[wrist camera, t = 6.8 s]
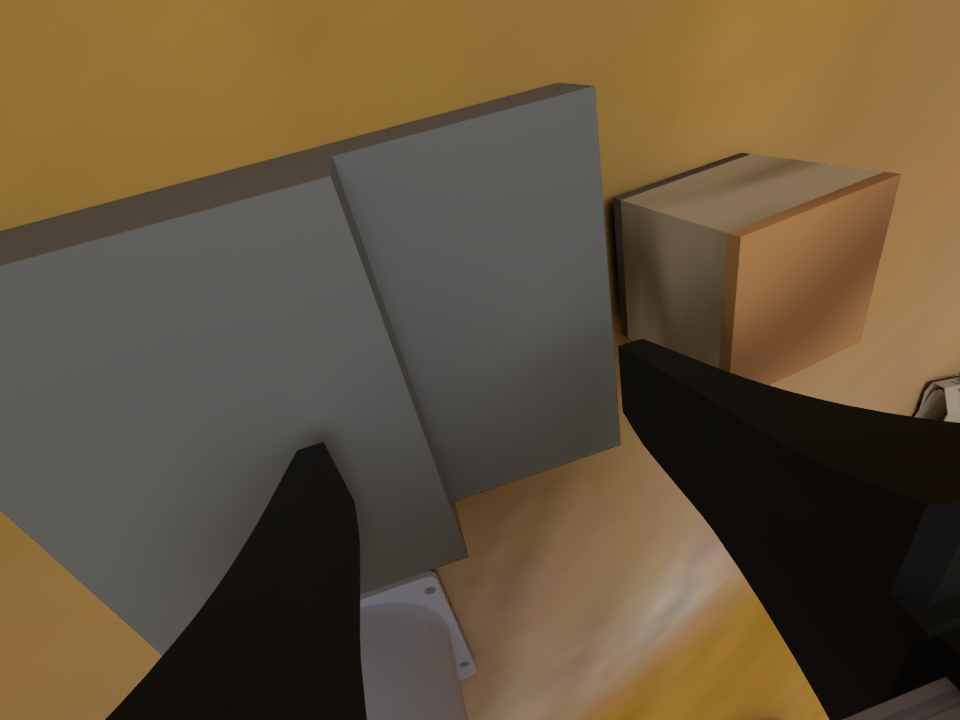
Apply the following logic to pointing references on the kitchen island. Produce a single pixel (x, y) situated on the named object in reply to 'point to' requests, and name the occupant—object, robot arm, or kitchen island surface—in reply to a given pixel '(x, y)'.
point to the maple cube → (752, 261)
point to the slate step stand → (308, 348)
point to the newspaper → (942, 401)
